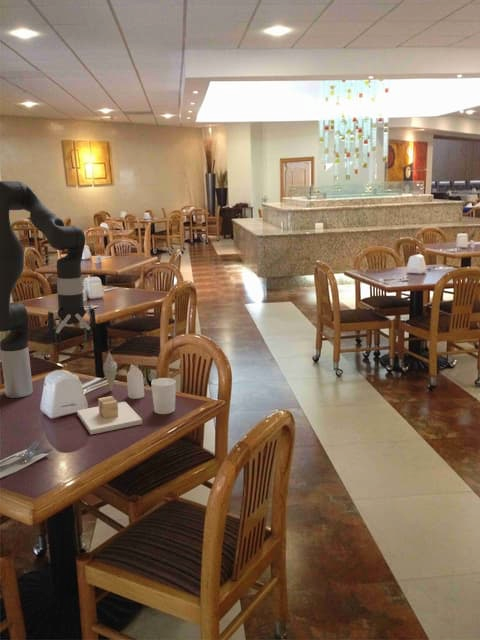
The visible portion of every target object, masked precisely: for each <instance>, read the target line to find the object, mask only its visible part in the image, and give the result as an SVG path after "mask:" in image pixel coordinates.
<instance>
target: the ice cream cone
mask: <svg viewBox="0 0 480 640" xmlns="http://www.w3.org/2000/svg"><path fill="white" fill-rule="evenodd" d="M102 368H103V369H102V371H103V373H104V376H105V380H106V382H107V384H108V387H109V390H110V391H111V392H113V390H114V385H115V381H116V375H117V372H118V371H117V370H118V364H117V362H116V361H114V357H113V356H112V354H111V353H110V351H108V352H107V356H106V359H105V362H104V363H103V367H102Z"/></svg>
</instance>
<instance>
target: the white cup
mask: <svg viewBox="0 0 480 640" xmlns="http://www.w3.org/2000/svg"><path fill="white" fill-rule="evenodd" d="M151 396H152V401H153V402H152V404H153V410H154V413H156V414H158V415H169V414H172V413H174V412H175V411H176V379H174V378H170V377H160V378H156V379H153V380H151Z"/></svg>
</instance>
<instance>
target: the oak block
mask: <svg viewBox="0 0 480 640" xmlns="http://www.w3.org/2000/svg"><path fill="white" fill-rule="evenodd" d="M97 399H98V400H97V401H98V406H99V413H100V415H101V416H102V417H103V418H104V419H109V418H114V417H118V403H119V402H118V401H117V400H116V398H114V396H113V395H109V396H105V397H104V396H103V397H100V398H99V397H98V398H97Z"/></svg>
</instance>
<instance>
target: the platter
mask: <svg viewBox="0 0 480 640" xmlns="http://www.w3.org/2000/svg"><path fill="white" fill-rule="evenodd" d="M117 403H118V417H114V418H109V419H104V418H103V417H102V416H101V415H100V413H99V405H98V406H94V407H93V406H92V407H89V408H83V409H78V410H76V412H77V413H76V414H77V417H79V419H80V420H81V422H82V424H83V425H84V427H85V429H87V431H88V432H89V434H90V435H94V434H95V435H96V434H101V433H105V432H110V431H114V430H119V429H120V430H121V429H124V428H128V427H134V426H139V425H143V419H142V417H140V415H139V414H137V413H136V411H134V409H133V408H132V407H131V406H130V405H129V404H128V403H127V402H126V401H120V402H117Z"/></svg>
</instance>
